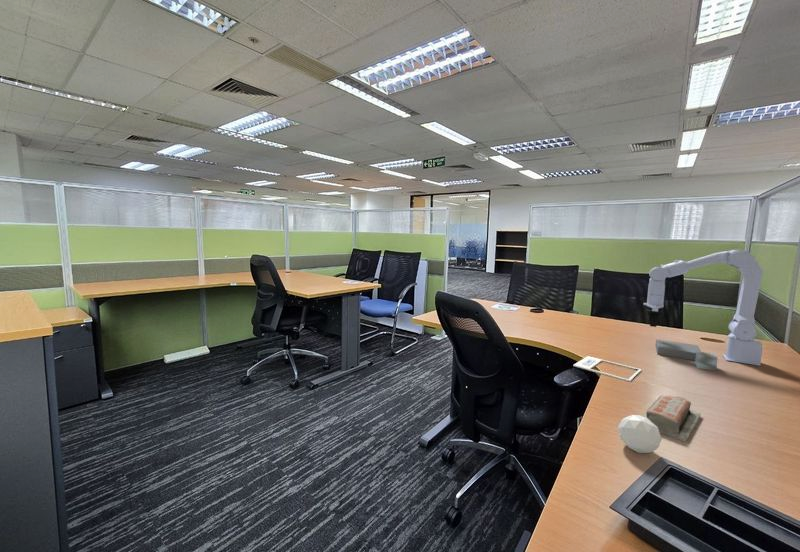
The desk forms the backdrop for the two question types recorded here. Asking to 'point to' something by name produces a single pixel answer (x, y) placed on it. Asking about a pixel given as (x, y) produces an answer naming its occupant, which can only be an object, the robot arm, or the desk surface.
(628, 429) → the geometric ball
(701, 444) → the desk surface
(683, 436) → the packaged product
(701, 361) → the grey-green cube
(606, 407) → the desk surface
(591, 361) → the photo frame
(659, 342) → the pedestal
